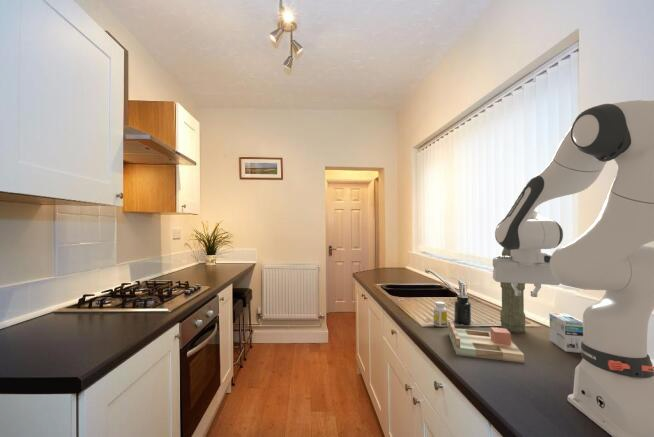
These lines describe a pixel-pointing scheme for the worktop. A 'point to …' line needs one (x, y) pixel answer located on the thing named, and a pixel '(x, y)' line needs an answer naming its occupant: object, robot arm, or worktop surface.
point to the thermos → (512, 305)
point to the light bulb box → (566, 332)
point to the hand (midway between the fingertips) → (525, 296)
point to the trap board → (482, 345)
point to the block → (500, 336)
